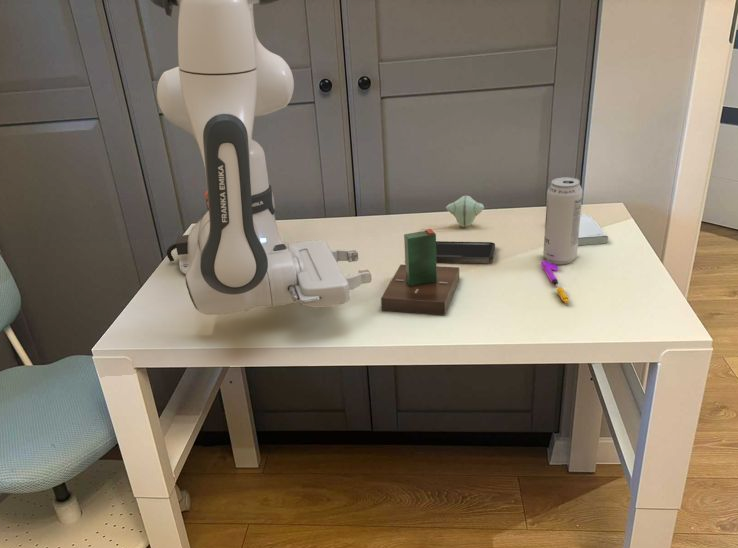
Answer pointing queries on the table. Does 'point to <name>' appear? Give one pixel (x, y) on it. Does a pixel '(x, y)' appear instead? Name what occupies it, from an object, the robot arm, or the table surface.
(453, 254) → the phone
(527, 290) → the table surface
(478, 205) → the mint green lobed ornament
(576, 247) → the energy drink can
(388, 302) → the dial panel
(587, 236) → the hard drive
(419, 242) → the green tall block
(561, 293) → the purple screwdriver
